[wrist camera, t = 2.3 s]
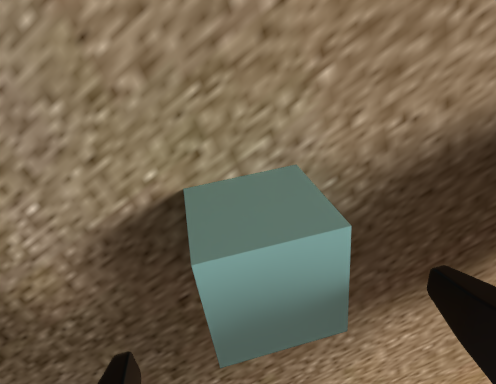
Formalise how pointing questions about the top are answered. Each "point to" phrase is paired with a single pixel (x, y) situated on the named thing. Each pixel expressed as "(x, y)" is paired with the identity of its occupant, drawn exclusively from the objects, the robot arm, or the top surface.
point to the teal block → (268, 262)
